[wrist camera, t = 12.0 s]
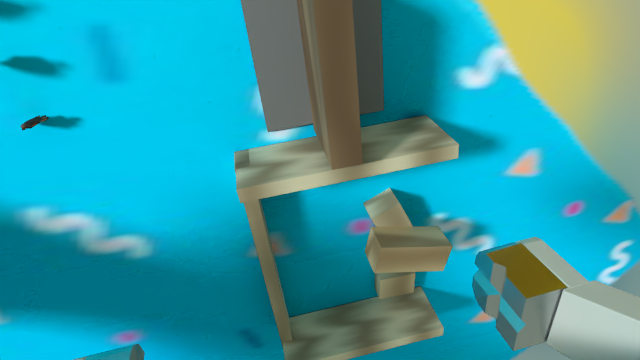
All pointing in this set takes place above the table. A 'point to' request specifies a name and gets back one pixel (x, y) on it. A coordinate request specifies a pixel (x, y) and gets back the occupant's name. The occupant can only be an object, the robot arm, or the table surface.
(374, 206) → the offcut
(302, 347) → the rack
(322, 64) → the walnut board
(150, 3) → the table surface
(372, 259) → the offcut
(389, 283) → the offcut
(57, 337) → the table surface
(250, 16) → the mat
